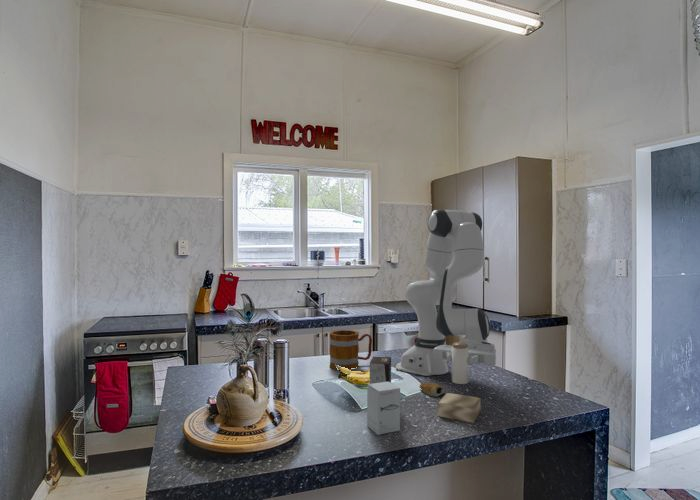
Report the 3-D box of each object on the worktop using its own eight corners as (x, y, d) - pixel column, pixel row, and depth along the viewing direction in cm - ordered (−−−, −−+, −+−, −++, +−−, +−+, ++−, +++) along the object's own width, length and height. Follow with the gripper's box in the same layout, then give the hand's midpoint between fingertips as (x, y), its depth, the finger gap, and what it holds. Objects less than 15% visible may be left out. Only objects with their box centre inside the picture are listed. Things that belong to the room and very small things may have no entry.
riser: (437, 416, 134) (437, 402, 134) (447, 404, 144) (447, 392, 144) (473, 422, 129) (473, 408, 129) (480, 410, 139) (480, 397, 139)
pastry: (415, 390, 158) (415, 380, 158) (427, 387, 162) (427, 377, 162) (433, 398, 151) (433, 387, 151) (446, 394, 155) (446, 384, 155)
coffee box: (388, 414, 136) (388, 363, 135) (368, 412, 137) (368, 362, 137) (391, 404, 144) (391, 356, 144) (373, 402, 146) (373, 355, 146)
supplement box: (378, 435, 120) (378, 391, 120) (366, 425, 127) (366, 383, 127) (400, 431, 123) (400, 387, 123) (388, 421, 130) (388, 380, 130)
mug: (333, 371, 182) (333, 336, 182) (326, 363, 195) (326, 330, 195) (376, 368, 187) (376, 334, 187) (367, 360, 200) (367, 328, 200)
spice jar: (450, 382, 135) (449, 344, 135) (453, 378, 140) (453, 341, 140) (466, 384, 133) (466, 346, 133) (470, 380, 137) (469, 343, 137)
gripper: (439, 338, 153) (427, 346, 140) (499, 344, 143) (492, 353, 131) (439, 356, 153) (427, 366, 140) (499, 363, 143) (492, 374, 131)
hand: (459, 360), depth 136 cm, fingers closed on spice jar, 5 cm apart
